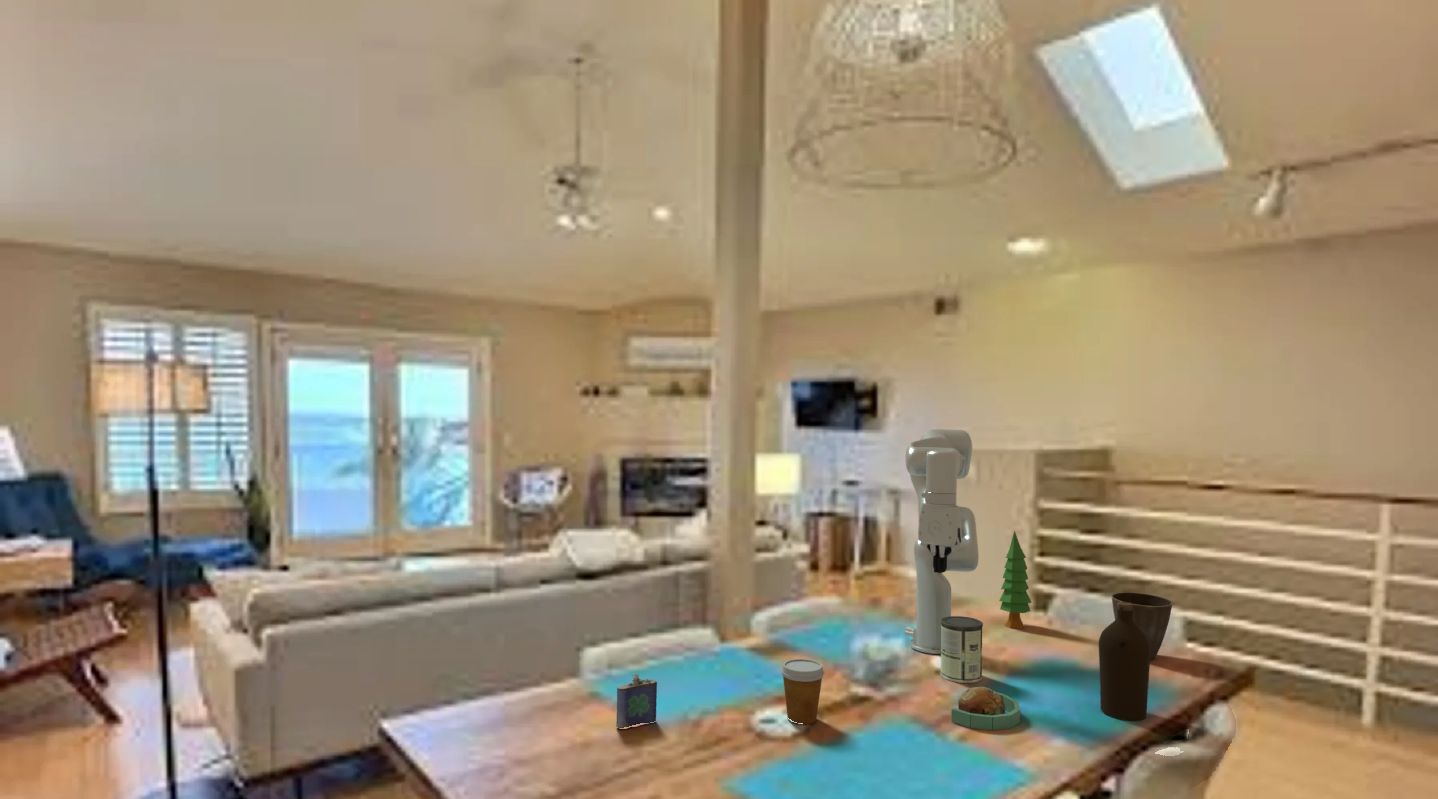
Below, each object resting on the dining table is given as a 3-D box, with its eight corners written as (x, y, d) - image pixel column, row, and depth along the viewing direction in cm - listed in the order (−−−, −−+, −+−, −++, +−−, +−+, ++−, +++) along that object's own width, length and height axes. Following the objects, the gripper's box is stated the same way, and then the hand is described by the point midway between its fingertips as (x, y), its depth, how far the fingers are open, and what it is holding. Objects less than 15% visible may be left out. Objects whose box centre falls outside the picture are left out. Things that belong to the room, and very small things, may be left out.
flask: (619, 731, 173) (619, 680, 173) (613, 726, 176) (614, 676, 176) (658, 723, 178) (659, 673, 178) (652, 718, 180) (653, 669, 180)
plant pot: (1173, 654, 230) (1174, 597, 229) (1169, 669, 217) (1170, 608, 217) (1114, 645, 238) (1115, 589, 237) (1107, 658, 225) (1108, 600, 225)
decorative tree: (1000, 628, 253) (1001, 531, 252) (995, 620, 262) (996, 526, 262) (1033, 630, 251) (1035, 532, 251) (1027, 622, 260) (1028, 527, 260)
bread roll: (1000, 726, 187) (996, 689, 191) (1012, 723, 178) (1008, 684, 181) (956, 725, 188) (953, 688, 191) (966, 722, 178) (963, 683, 182)
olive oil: (1159, 722, 181) (1160, 609, 181) (1110, 722, 181) (1112, 609, 181) (1135, 704, 192) (1136, 597, 191) (1089, 703, 192) (1091, 597, 192)
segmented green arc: (951, 721, 180) (951, 709, 180) (987, 701, 192) (987, 689, 192) (997, 736, 173) (998, 723, 173) (1032, 714, 185) (1032, 702, 185)
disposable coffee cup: (827, 714, 184) (828, 660, 184) (818, 730, 175) (819, 674, 175) (786, 708, 187) (786, 656, 187) (775, 724, 178) (775, 669, 178)
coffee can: (951, 666, 217) (952, 613, 217) (989, 676, 210) (989, 621, 210) (932, 676, 209) (933, 621, 209) (970, 686, 202) (971, 629, 202)
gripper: (906, 497, 209) (905, 569, 210) (961, 503, 199) (959, 579, 199) (922, 495, 215) (921, 565, 215) (975, 501, 204) (974, 574, 205)
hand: (939, 571), depth 207 cm, fingers closed
